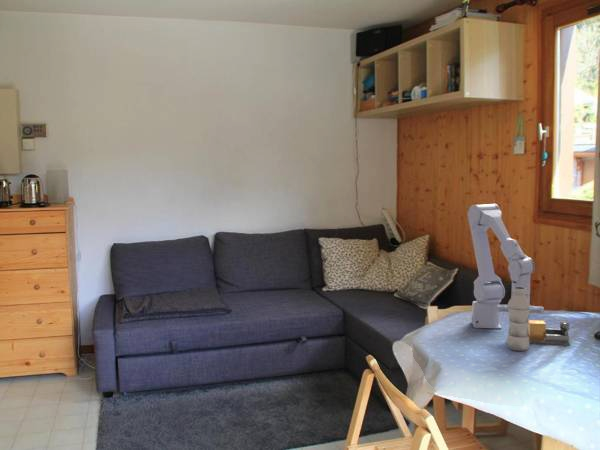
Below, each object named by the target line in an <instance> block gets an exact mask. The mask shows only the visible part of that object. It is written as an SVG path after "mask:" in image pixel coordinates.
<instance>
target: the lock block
mask: <svg viewBox="0 0 600 450" xmlns="http://www.w3.org/2000/svg"><path fill="white" fill-rule="evenodd" d="M546 325H547V323H546V322H545V320H534V319H533V320H532V319H528V335H529V337H530V338H545V332H546V328H547V327H546Z"/></svg>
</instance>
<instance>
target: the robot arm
mask: <svg viewBox="0 0 600 450" xmlns="http://www.w3.org/2000/svg"><path fill="white" fill-rule="evenodd" d="M502 214H503V213H502V211H501V208H500V206H499V205H498V204H497V203H495V202H494V203H493V202H492V203H486V204H472V205H470V206H469V209H468V210H467V219H468V224H469V229H470V233H471V241H472V244H473V251H474V256H475V260H476V261H475V262H476V266H477V271H478V276H477V277H476V279H475V280H474V281H473V296H474V298H475V299H476V300H473V301H472V306H471V311H472V312H471V323H472V326H473V328H477V329H500V330H501V329H502V325H501V324H500V313H501V312H504V313H509V309H508V304H500V303H502V299H504V298H505V295H506V289H505V286H504V285H503V282H502V278H501V277H500V276H498V275H497V274H495V269H494V263H493V259H492V254H491V248H490V242H489V238H488V230H489V228H491V231H492V232H493V233H494V234H495V236H496V237H497V239H498V240H499V242H500V243H501V244H500V251H501V252H502V254H503V256H504V257H505V259H506V261H507V262H508V263H509V264H508V265H507V269H508V273H509V279H510V280H511V297H510V299H511V298H512V297H513V296H514V294H513V288H514V287H524V288H526V295H525V296H526V298H527V299H528V301H529V302H530V298H531V297H530V296H531V295H530V294H531V275H532V274H533V273H535V267H536V266H535V263H534V260H533V259H532V258H531V257H529V256H528V255H526V254H525V253H524V251H523V250H522V248H521V246H520V245H519V243H518V241H517V240H516V239H514V238H511V236H510V234H509V232H508V230H507V228H506V226H505V223H504V222H503V220H502ZM544 310H545V309H544V306H541V305H540V306H537V305H531V304H530V311H529V314H544V313H545V312H544ZM529 318H530V316H529V317H528V319H529Z"/></svg>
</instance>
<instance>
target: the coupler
mask: <svg viewBox="0 0 600 450" xmlns="http://www.w3.org/2000/svg"><path fill="white" fill-rule="evenodd" d="M569 331H570V322H568V321H560V322H559V328H550V327H549V328H547V327H546V332H545V338H530V337H529V341H530V344H536V345H537V344H539V345H541V344H542V345H559V346H561V345H563V346H570V345H571V343H570V336H569ZM528 336H529V335H528Z"/></svg>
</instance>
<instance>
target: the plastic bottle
mask: <svg viewBox="0 0 600 450" xmlns="http://www.w3.org/2000/svg"><path fill="white" fill-rule="evenodd" d="M513 294H514V296H513V297H512V298H511V297H510V299H509V300H508V303H507V305H508V309H509V312H508V317H509V322H508V323H509V328H508V334H507V337H506V338H507V339H506V343H507V346H508V348H509V349H510V350H513V351H517V352H518V351H519V352H521V351H523V352H524V351H527V350H528V349H529V347H530V344H531V343H530V341H529V336H528V320H529V318H530V313H529V311H530V305H531V304H530V303H531V302H530V300H529V301H528V299H527V298H526V296H525V295H526V288H524V287H514V288H513ZM528 317H529V318H528Z"/></svg>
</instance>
